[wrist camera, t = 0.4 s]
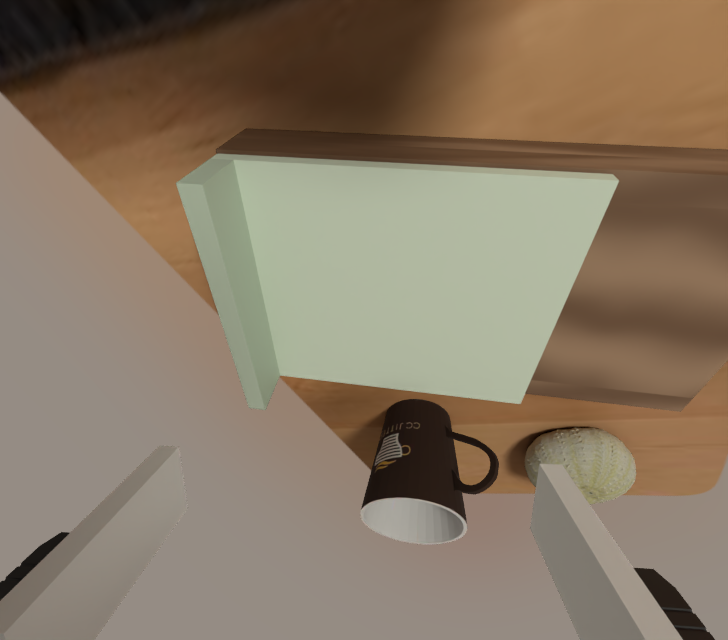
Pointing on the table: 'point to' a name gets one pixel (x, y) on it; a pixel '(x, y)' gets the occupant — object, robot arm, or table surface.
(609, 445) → the sea urchin shell
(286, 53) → the table surface
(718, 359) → the brown wooden shallow box
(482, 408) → the table surface
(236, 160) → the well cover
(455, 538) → the coffee mug
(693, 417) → the table surface
